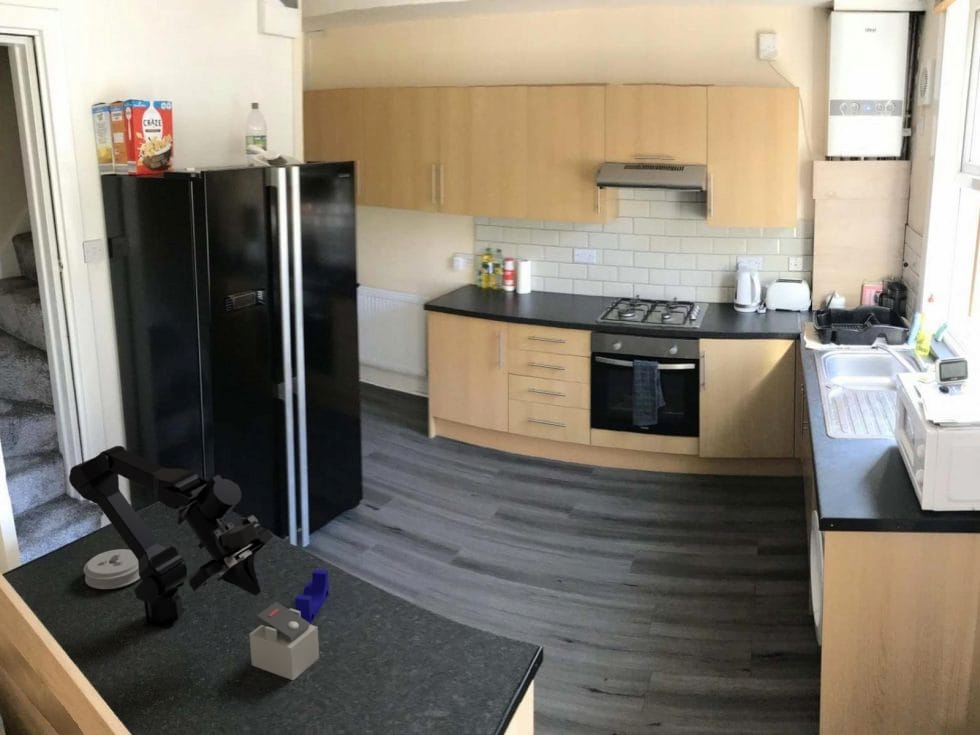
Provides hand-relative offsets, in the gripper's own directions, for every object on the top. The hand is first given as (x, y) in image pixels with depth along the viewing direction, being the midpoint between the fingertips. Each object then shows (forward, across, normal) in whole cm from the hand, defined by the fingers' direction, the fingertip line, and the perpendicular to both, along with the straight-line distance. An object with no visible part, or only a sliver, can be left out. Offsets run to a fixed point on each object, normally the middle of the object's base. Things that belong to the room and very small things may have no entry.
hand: (258, 593), depth 180 cm
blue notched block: (+8, +18, +11) cm, 22 cm away
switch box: (+14, 0, +5) cm, 14 cm away
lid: (-24, +7, +45) cm, 51 cm away
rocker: (+7, 0, -1) cm, 7 cm away
